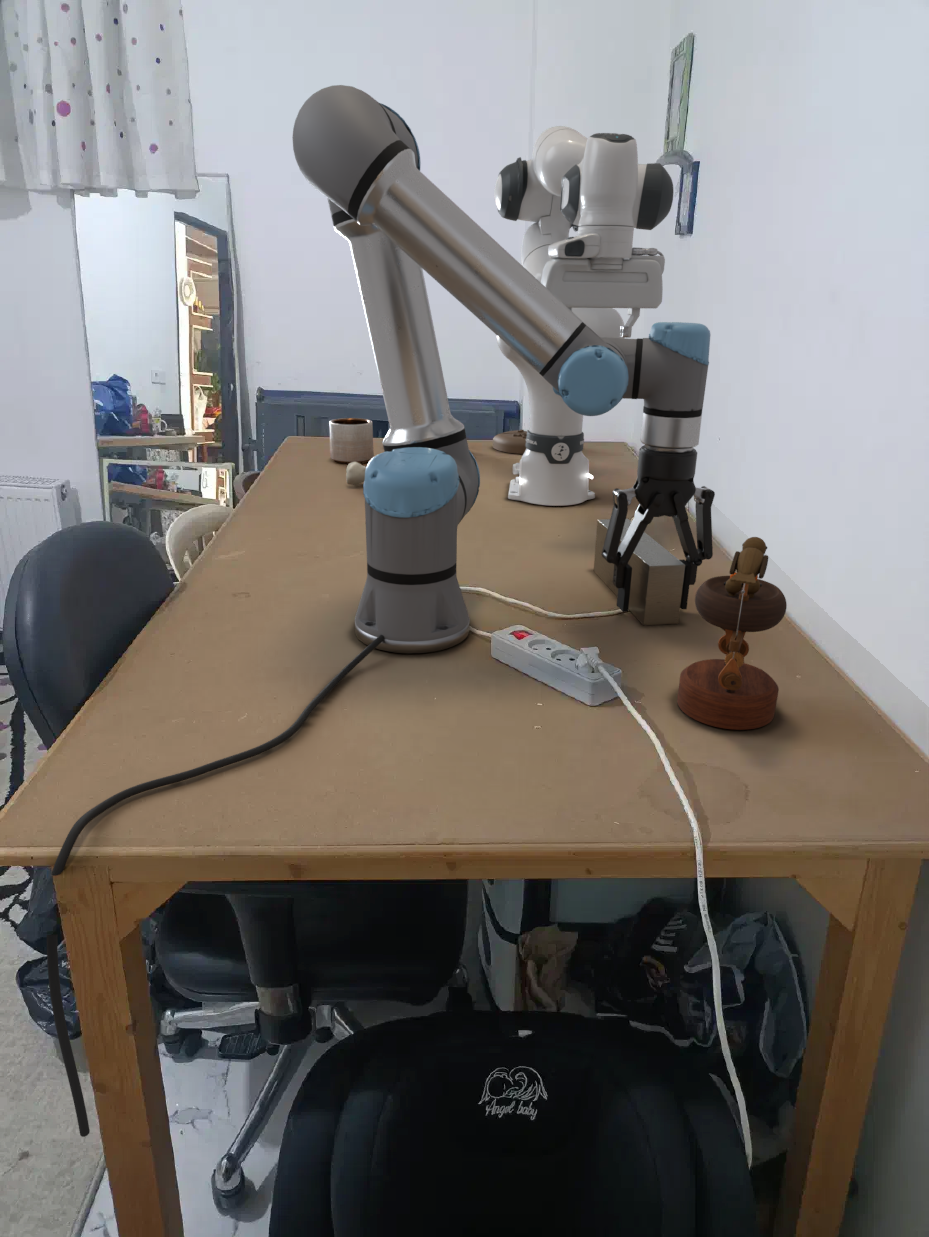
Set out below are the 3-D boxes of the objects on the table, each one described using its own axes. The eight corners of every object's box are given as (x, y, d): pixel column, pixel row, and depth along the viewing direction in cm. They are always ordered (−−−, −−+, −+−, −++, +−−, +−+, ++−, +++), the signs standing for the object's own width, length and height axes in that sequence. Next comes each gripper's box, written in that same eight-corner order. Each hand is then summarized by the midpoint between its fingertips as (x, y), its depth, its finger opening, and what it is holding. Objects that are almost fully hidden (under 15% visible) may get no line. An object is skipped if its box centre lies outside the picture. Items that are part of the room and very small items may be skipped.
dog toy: (433, 479, 195) (433, 458, 193) (437, 486, 189) (437, 463, 187) (345, 481, 191) (344, 459, 190) (346, 488, 186) (345, 465, 184)
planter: (327, 456, 217) (325, 418, 214) (369, 454, 220) (368, 417, 217) (334, 465, 208) (332, 425, 204) (377, 463, 211) (376, 424, 207)
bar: (678, 623, 117) (685, 564, 114) (643, 625, 116) (649, 566, 113) (623, 569, 138) (627, 518, 135) (593, 570, 137) (597, 519, 134)
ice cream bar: (498, 463, 213) (499, 446, 211) (490, 442, 239) (491, 427, 237) (581, 463, 214) (582, 447, 212) (564, 443, 240) (565, 428, 238)
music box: (793, 740, 87) (809, 557, 80) (685, 741, 89) (691, 560, 81) (762, 676, 102) (773, 514, 94) (668, 677, 103) (672, 518, 95)
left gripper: (730, 440, 116) (709, 594, 125) (584, 442, 113) (573, 600, 122) (755, 451, 110) (731, 613, 118) (601, 453, 106) (588, 620, 115)
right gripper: (658, 248, 140) (650, 336, 146) (539, 246, 137) (535, 335, 143) (673, 247, 135) (664, 339, 140) (548, 245, 132) (544, 338, 137)
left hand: (651, 606), depth 120 cm, fingers open, 8 cm apart
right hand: (598, 337), depth 141 cm, fingers open, 8 cm apart
